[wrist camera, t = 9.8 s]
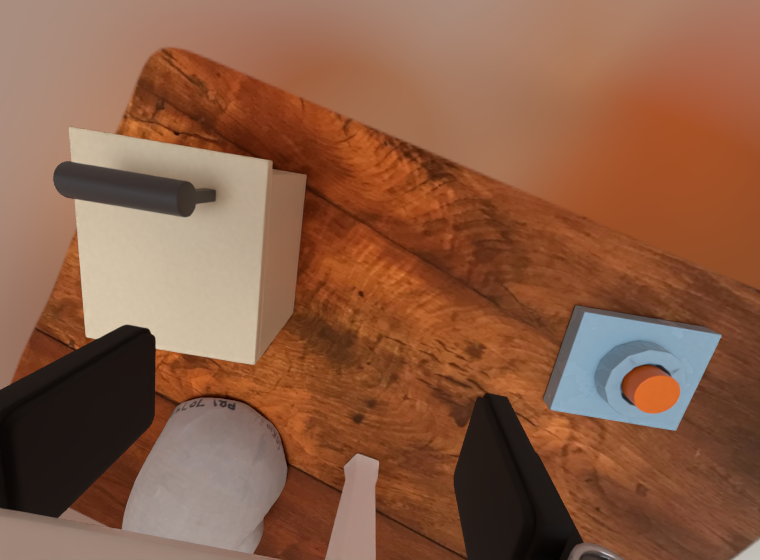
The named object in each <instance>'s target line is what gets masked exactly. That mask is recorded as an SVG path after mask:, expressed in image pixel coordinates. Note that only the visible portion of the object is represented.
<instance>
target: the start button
mask: <svg viewBox="0 0 760 560" xmlns="http://www.w3.org/2000/svg"><path fill="white" fill-rule="evenodd" d="M621 387H622V391H623V394H624V395H625V396H626V397H627V398H628V399H629V400H630V401H631V402H632V403H633V404H634V405H635V406H636V407H637V408H638V409H640V410H641V411H643V412H646V413H650V414H656V413H661V412H664V411H666V410H668V409H670V408H671V407H672V406H674V405H675V403H676V402H677V401H678V399H679V396H680V386H679V384H678V382H677V381H676V380H675V379H673V378H672V377H671V376H669V375H668V374H667V373H665V372H664V371H662V370H661V369H660V368H658V367H656V366H653V365H641V366H637V367H635V368H633V369H632V370H631V371H630V372H628V373H627V374H626V375H625V377H624V378H623V381H622V386H621Z"/></svg>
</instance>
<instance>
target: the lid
mask: <svg viewBox="0 0 760 560" xmlns="http://www.w3.org/2000/svg"><path fill="white" fill-rule="evenodd" d="M69 135H70V149H71V161H72V162H70V161H67V162H63V163H61V164H59V165H58V166H57V168H56V169H55V171H54V176H53V180H54V185H55V187H56V189H57V191H58V192H59V193H60V194H61V195H63V196H64V197H67V198H72V199H75V209H76V223H77V235H78V247H79V259H80V272H81V284H82V296H83V308H84V321H85V333H86V337H88V338H94V339H98V338H100V337H102V336H104V335H106V334H108V333H109V332H111V331H113V330H115V329H117V328H119V327H121V326H123V325H126V324H127V325H133V326H138V327H143V328H148V329H149V330H150V332H151V334H153V335H154V336H155V339H156V349H161V350H167V351H173V352H179V353H185V354H191V355H197V356H203V357H209V358H215V359H221V360H227V361H233V362H239V363H245V364H251V365H255V363H256V362H257V361H258V358H259V344H260V330H261V316H262V302H263V289H264V275H265V261H266V247H267V233H268V219H269V205H270V192H271V178H272V164H273V162H272V161H271V160H265V159H259V158H253V157H248V156H242V155H236V154H230V153H224V152H218V151H212V150H206V149H200V148H194V147H189V146H183V145H177V144H171V143H165V142H159V141H153V140H147V139H141V138H135V137H130V136H124V135H118V134H112V133H106V132H100V131H94V130H88V129H82V128H75V127H69Z"/></svg>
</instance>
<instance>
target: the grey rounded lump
mask: <svg viewBox="0 0 760 560" xmlns="http://www.w3.org/2000/svg"><path fill="white" fill-rule="evenodd" d="M286 477H287V464H286V460H285V455H284V450H283V447H282V443H281V439H280V436H279V433H278V431H277V430H276V428H275V427H274V426H273V424H272V423H271V422H270V421H268V420H267V419H265V418H264V417H262V416H261V415H260V414H259V413H258V412H256V411H255V410H254V409H253V408H251V407H250V406H248V405H246V404H244V403H242V402H238V401H234V400H227V399H221V398H197V399H193V400H190V401H186V402H183V403H181V404H180V405H178V406H177V407H176V408H175V410H174V411H173V413H172V415H171V417H170V419H169V420H168V422H167V424H166V426H165V427H164V429H163V431H162V433H161V434H160V436H159V438H158V440H157V441H156V443H155V445H154V447H153V448H152V450H151V452H150V453H149V455H148V457H147V459H146V461H145V463H144V465H143V467H142V468H141V470H140V472H139V474H138V477H137V479H136V481H135V483H134V486H133V489H132V491H131V494H130V496H129V500H128V503H127V506H126V510H125V513H124V518H123V526H122V530H126V531H131V532H137V533H142V534H148V535H153V536H158V537H164V538H169V539H174V540H180V541H185V542H191V543H196V544H201V545H207V546H212V547H217V548H223V549H228V550H233V551H239V552H244V553H249V554H253V552H254V551H255V549H256V547H257V546H258V544H259V542H260V539H261V537H262V534H263V528H264V520H263V518H264V516H265V515H266V514H267V513H268V511H269V510H270V508H271V506H272V505H273V504H274V503H275V501H276V500H277V499H278V497H279V496H280V494H281V492H282V490H283V488H284V486H285V483H286Z"/></svg>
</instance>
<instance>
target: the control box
mask: <svg viewBox="0 0 760 560" xmlns="http://www.w3.org/2000/svg"><path fill="white" fill-rule="evenodd" d="M721 336H722V335H721V334H719V333H717V332H715V331H713V330H711V329H709V328H707V327H702V326H696V325H690V324H684V323H679V322H673V321H667V320H661V319H655V318H649V317H643V316H637V315H631V314H625V313H619V312H613V311H607V310H601V309H595V308H589V307H583V306H577V305H575V308H574V311H573V314H572V317H571V320H570V323H569V325H568V328H567V331H566V334H565V337H564V340H563V343H562V346H561V349H560V352H559V355H558V357H557V360H556V363H555V366H554V369H553V372H552V375H551V378H550V381H549V384H548V387H547V389H546V392H545V395H544V398H543V400H544V401H545V403H546V404H547V406H548V407H549V409H550V410H554V411H560V412H566V413H572V414H578V415H584V416H590V417H596V418H602V419H608V420H614V421H620V422H626V423H632V424H638V425H644V426H650V427H656V428H662V429H668V430H674V431H676V429H677V427H678V425H679V423H680V421H681V419H682V417H683V415H684V413H685V410H686V408H687V406H688V404H689V402H690V400H691V398H692V396H693V394H694V392H695V390H696V388H697V386H698V384H699V382H700V379H701V377H702V375H703V373H704V371H705V369H706V367H707V365H708V363H709V361H710V359H711V357H712V355H713V353H714V351H715V348H716V346H717V344H718V342H719V340H720V338H721ZM641 365H653V366H656V367H658V368H660V369H661V370H662V371H664V372H665V373H667V374H668V375H669V376H671V377H672V378H673V379H675V380H676V381H677V382H678V384H679V386H680V396H679V399H678V401H677V402H676V403H675V405H674V406H672V407H671V408H670V409H668V410H666V411H664V412H661V413H656V414H650V413H646V412H643V411H641V410H640V409H638V408H637V407H636V406H635V405H634V404H633V403H632V402H631V401H630V400H629V399H628V398H627V397H626V396H625V395H624V394H623V391H622V387H621V386H622V381H623V378H624V377H625V375H626V374H627V373H628V372H630V371H631V370H632V369H633V368H635V367H637V366H641Z"/></svg>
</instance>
